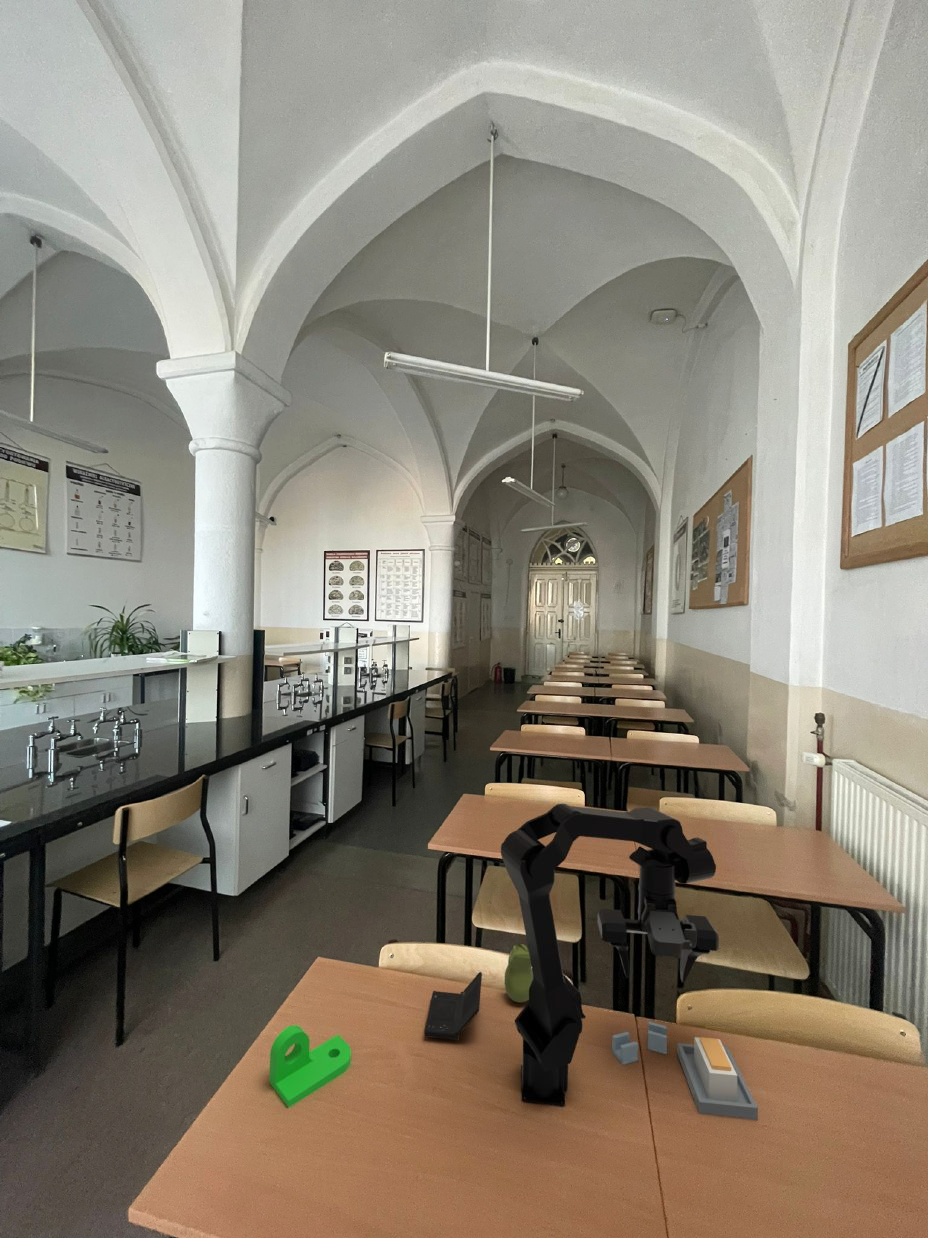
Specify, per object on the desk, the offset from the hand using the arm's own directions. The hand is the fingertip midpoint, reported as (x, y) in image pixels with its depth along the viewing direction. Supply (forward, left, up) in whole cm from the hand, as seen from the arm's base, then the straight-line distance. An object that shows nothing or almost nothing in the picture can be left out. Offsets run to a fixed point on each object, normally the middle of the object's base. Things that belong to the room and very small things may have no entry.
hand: (654, 979), depth 92 cm
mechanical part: (-54, -12, -12) cm, 57 cm away
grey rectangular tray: (+8, -6, -12) cm, 16 cm away
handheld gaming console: (-37, +2, -13) cm, 40 cm away
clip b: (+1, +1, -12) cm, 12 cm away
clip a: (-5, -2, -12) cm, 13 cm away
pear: (-23, +9, -12) cm, 27 cm away
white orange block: (+8, -6, -11) cm, 15 cm away
